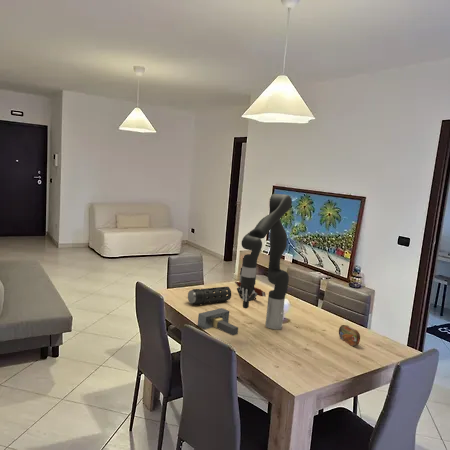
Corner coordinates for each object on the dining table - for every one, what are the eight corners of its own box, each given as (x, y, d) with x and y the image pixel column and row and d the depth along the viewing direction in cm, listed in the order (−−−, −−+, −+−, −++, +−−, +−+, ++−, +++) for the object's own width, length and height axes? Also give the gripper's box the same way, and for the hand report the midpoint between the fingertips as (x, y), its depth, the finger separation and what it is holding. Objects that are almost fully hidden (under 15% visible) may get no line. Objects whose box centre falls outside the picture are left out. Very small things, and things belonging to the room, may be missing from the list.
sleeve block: (228, 322, 233) (229, 311, 232) (204, 329, 220) (206, 316, 219) (220, 319, 237) (221, 308, 236) (197, 325, 224) (198, 313, 223)
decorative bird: (221, 292, 281) (229, 271, 284) (238, 298, 293) (246, 278, 296) (251, 303, 261) (260, 281, 263) (268, 310, 273) (276, 289, 275)
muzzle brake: (231, 303, 269) (232, 288, 268) (193, 308, 254) (195, 291, 253) (223, 299, 277) (224, 284, 276) (186, 303, 262) (187, 287, 260)
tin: (337, 337, 226) (339, 322, 225) (342, 336, 227) (344, 322, 226) (355, 348, 212) (357, 333, 211) (360, 348, 213) (362, 332, 212)
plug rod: (238, 333, 218) (238, 325, 218) (232, 335, 215) (233, 327, 215) (217, 324, 229) (217, 316, 229) (211, 325, 226) (212, 318, 226)
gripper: (263, 277, 207) (259, 310, 209) (244, 271, 217) (240, 303, 219) (253, 279, 202) (250, 313, 204) (234, 273, 211) (231, 305, 213)
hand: (245, 307), depth 211 cm, fingers closed
